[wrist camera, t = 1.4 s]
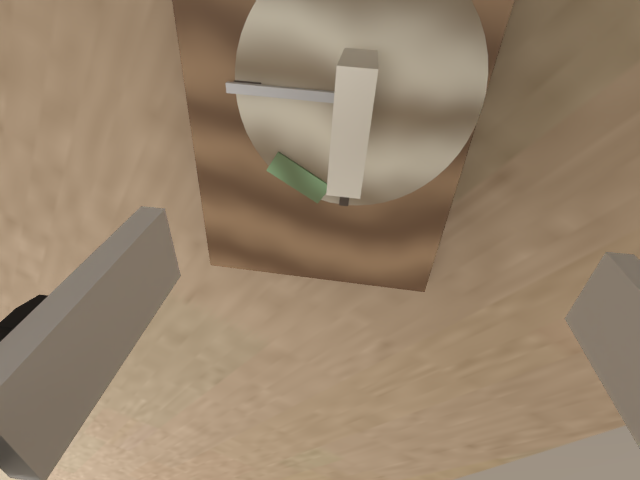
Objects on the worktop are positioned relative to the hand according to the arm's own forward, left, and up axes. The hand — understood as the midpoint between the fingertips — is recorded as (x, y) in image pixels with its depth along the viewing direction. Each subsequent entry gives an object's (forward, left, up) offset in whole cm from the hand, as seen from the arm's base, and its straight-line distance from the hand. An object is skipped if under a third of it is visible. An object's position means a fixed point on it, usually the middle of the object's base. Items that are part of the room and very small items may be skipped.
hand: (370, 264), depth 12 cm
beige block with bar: (0, -5, -19) cm, 19 cm away
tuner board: (+3, -3, -21) cm, 21 cm away
